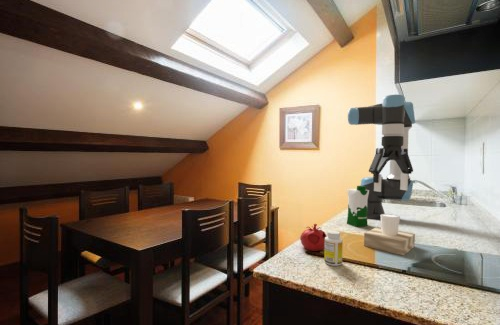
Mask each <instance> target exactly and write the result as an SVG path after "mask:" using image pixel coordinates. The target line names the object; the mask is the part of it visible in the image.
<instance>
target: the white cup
mask: <svg viewBox="0 0 500 325" xmlns="http://www.w3.org/2000/svg"><path fill="white" fill-rule="evenodd" d="M380 217H381V219H380V227H381V231H382V233H383V234H386V235H398V231H399V228H400V227H399V226H400V220H401V217H400V216H399V215H397V214H392V213H391V214H390V213H385V214H381V215H380Z"/></svg>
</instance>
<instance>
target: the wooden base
mask: <svg viewBox="0 0 500 325" xmlns="http://www.w3.org/2000/svg"><path fill="white" fill-rule="evenodd" d="M415 237H416V233H413V232H408V231H402V230H398V235H386V234H383V233H382V231H381V226H377V227H374V228H372V229H370V230H368V231H366V232H364V236H363V246H364V247H367V248H371V249H376V250H379V251H383V252H388V253H392V254H397V255H401V256H405V255H406V254H407V253H409V252H410V251H411V250H412V249H413V248H415V243H416V240H415V239H416V238H415Z"/></svg>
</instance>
